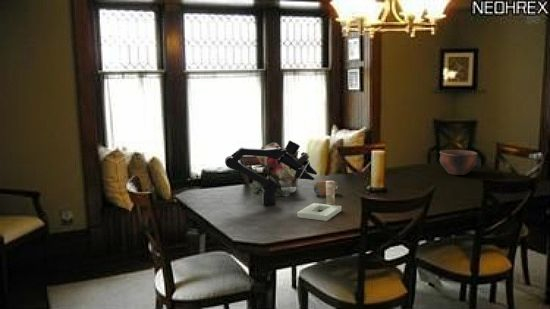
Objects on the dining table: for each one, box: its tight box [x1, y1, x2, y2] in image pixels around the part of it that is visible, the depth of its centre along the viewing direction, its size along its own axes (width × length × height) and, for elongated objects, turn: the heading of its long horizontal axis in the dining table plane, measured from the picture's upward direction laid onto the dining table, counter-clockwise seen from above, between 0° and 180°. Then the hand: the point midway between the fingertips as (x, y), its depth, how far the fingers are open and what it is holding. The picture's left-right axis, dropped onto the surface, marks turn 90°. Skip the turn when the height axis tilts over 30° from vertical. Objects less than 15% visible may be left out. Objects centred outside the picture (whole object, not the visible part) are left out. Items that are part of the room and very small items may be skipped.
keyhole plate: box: [296, 202, 342, 222], centre depth 272 cm, size 20×16×2 cm
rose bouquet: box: [249, 142, 297, 197], centre depth 322 cm, size 26×29×30 cm
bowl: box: [439, 149, 478, 176], centre depth 361 cm, size 25×25×15 cm
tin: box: [313, 180, 340, 197], centre depth 312 cm, size 15×3×8 cm, turn 101°
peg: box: [325, 180, 336, 205], centre depth 283 cm, size 4×4×14 cm
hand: (315, 176), depth 289 cm, fingers open, 9 cm apart
